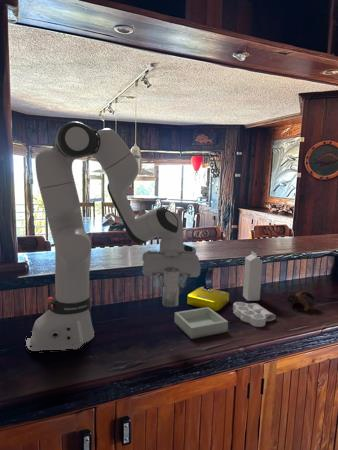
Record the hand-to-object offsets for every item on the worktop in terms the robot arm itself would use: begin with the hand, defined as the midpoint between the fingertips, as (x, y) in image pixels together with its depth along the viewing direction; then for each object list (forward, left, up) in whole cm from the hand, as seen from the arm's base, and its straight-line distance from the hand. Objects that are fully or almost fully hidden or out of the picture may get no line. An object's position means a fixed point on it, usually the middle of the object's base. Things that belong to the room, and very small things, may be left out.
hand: (171, 286), depth 113 cm
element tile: (+30, +24, -20) cm, 43 cm away
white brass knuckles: (+39, +5, -19) cm, 44 cm away
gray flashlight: (0, +1, -6) cm, 6 cm away
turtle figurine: (+65, +5, -19) cm, 68 cm away
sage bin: (+14, +4, -19) cm, 24 cm away
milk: (+51, +22, -19) cm, 59 cm away
